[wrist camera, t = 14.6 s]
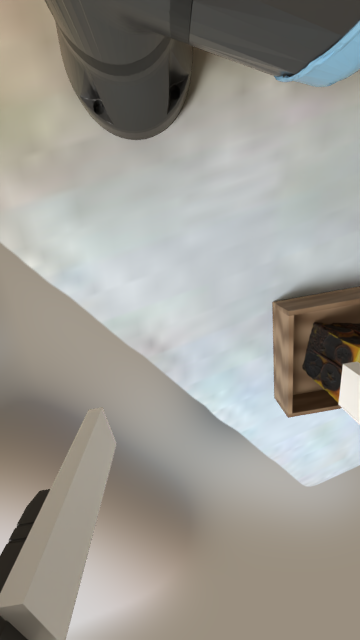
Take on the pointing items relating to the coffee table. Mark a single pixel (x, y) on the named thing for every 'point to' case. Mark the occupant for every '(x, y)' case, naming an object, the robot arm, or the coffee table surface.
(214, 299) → the coffee table surface
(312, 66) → the robot arm
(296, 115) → the coffee table surface
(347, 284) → the coffee table surface
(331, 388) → the candle
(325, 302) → the crate
